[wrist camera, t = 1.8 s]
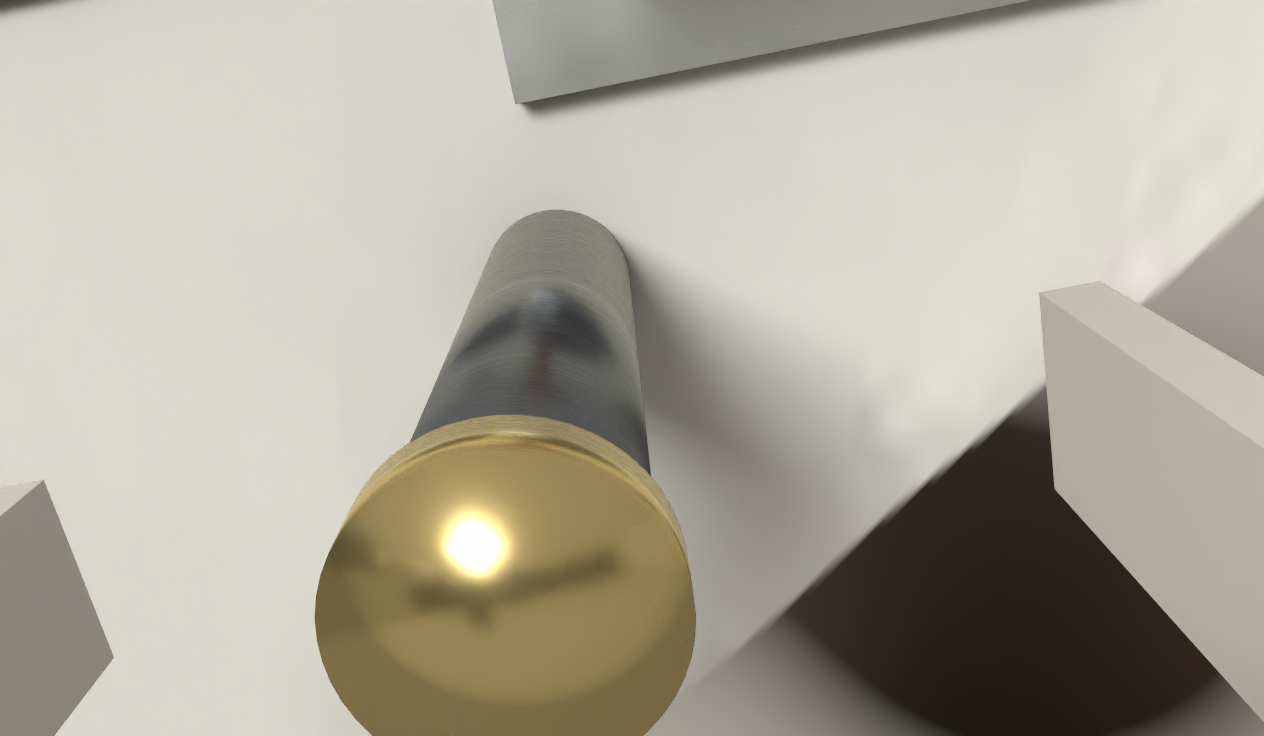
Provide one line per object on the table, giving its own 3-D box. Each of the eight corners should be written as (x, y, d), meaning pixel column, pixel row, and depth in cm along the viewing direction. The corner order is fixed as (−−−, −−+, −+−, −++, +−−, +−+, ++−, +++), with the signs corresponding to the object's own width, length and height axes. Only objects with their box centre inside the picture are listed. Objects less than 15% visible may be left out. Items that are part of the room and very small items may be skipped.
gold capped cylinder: (494, 375, 25) (371, 812, 12) (454, 214, 24) (265, 492, 11) (656, 344, 25) (724, 750, 12) (625, 180, 24) (657, 418, 10)
